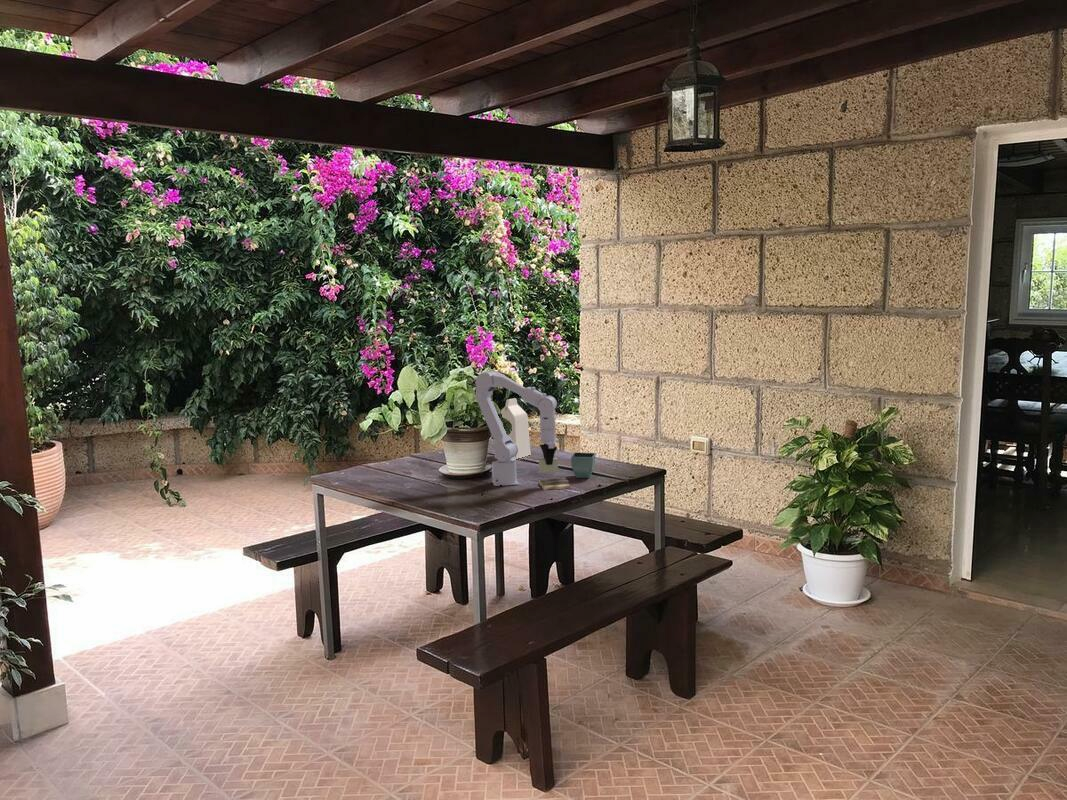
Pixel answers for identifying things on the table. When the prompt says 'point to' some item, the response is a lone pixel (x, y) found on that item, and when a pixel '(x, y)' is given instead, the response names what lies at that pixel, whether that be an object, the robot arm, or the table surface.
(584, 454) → the flower pot
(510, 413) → the milk
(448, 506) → the table surface
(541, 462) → the pale green block
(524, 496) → the table surface
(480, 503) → the table surface
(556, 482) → the track board
